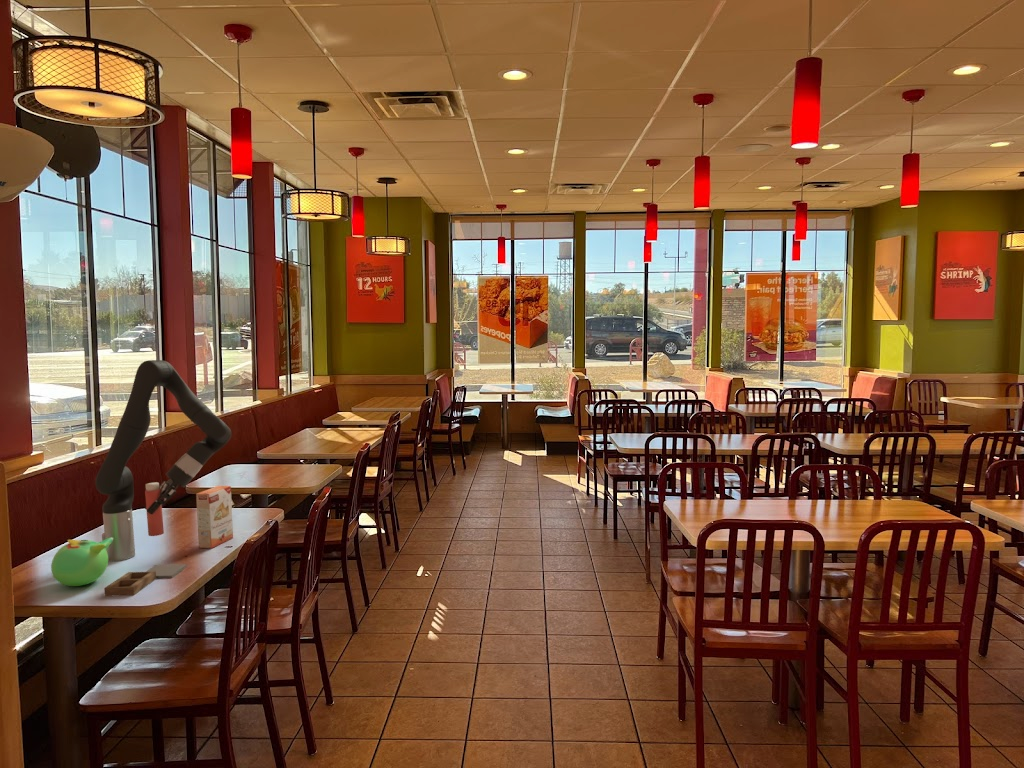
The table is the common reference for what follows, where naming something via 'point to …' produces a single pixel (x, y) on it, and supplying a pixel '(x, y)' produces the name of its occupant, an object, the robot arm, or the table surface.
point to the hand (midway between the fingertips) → (148, 511)
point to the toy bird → (80, 562)
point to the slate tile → (167, 570)
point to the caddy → (130, 583)
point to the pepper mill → (156, 518)
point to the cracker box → (214, 516)
